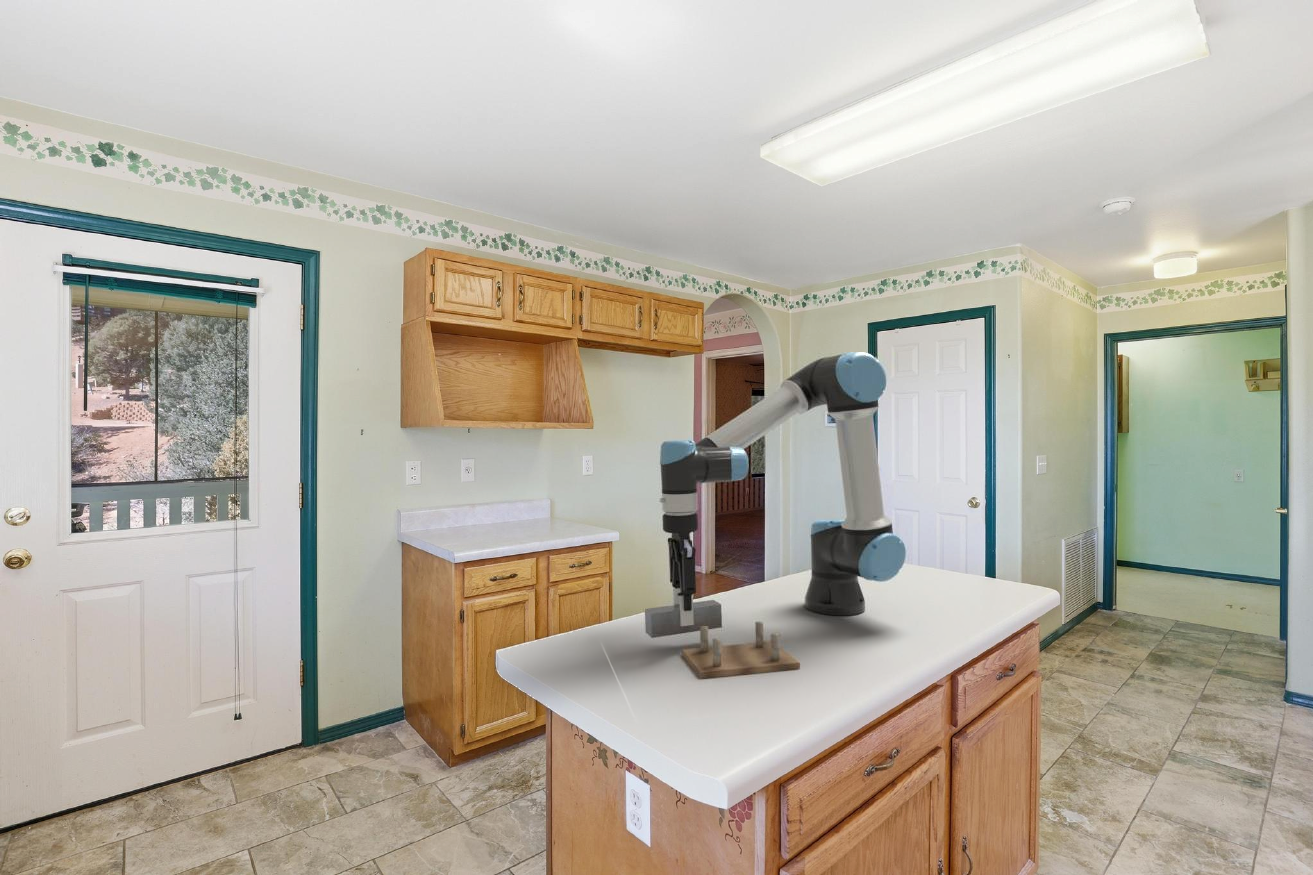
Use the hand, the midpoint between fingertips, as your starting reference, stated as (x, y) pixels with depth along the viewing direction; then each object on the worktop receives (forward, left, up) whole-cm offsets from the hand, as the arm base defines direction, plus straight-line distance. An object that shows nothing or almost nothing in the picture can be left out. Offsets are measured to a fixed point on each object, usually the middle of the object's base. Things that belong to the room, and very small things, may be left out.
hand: (683, 621), depth 137 cm
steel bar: (0, 0, -2) cm, 2 cm away
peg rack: (-8, +11, -6) cm, 15 cm away
